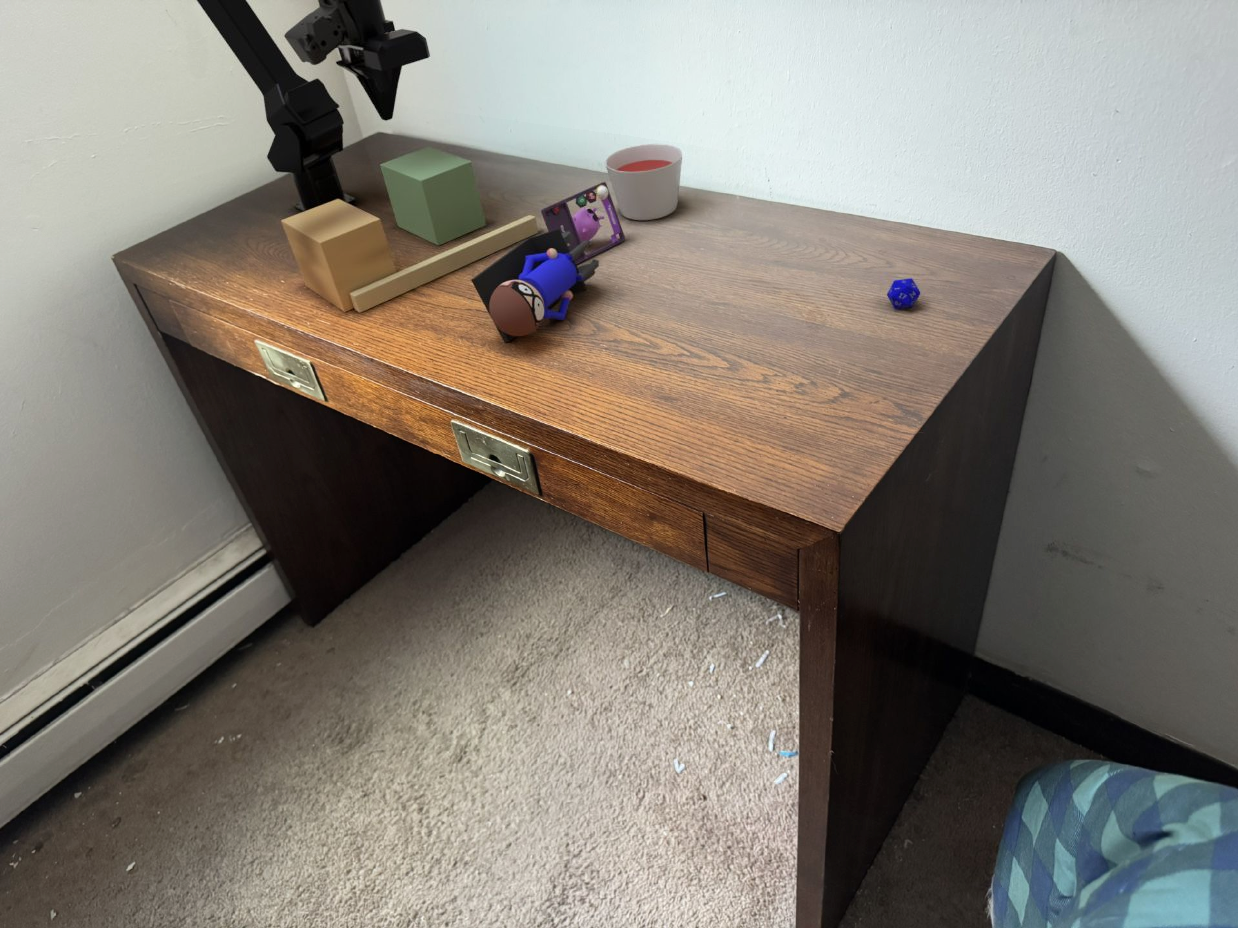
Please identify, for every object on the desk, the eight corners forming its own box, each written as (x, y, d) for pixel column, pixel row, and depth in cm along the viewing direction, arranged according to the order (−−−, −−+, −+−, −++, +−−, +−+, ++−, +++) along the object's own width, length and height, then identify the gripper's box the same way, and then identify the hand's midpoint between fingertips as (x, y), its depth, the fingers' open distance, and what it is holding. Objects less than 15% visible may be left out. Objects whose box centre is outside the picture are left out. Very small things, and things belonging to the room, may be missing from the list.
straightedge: (354, 309, 93) (348, 293, 92) (532, 230, 104) (529, 214, 103) (359, 313, 92) (354, 296, 91) (538, 232, 103) (535, 216, 102)
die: (920, 301, 80) (929, 287, 78) (900, 319, 80) (908, 306, 77) (898, 282, 81) (906, 267, 78) (878, 300, 81) (886, 285, 78)
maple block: (305, 286, 99) (280, 220, 94) (360, 263, 103) (338, 198, 98) (344, 312, 93) (319, 242, 88) (401, 287, 96) (380, 218, 91)
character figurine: (613, 290, 90) (528, 364, 81) (556, 275, 93) (468, 345, 84) (608, 220, 85) (517, 290, 76) (547, 206, 88) (452, 273, 79)
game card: (545, 208, 91) (609, 180, 95) (521, 214, 95) (583, 187, 100) (568, 269, 94) (629, 239, 98) (543, 272, 98) (603, 243, 102)
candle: (604, 226, 102) (597, 173, 98) (620, 196, 109) (614, 145, 105) (679, 224, 100) (675, 170, 96) (691, 194, 107) (687, 142, 103)
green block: (397, 226, 110) (379, 164, 105) (444, 207, 113) (428, 146, 108) (438, 246, 104) (420, 180, 99) (486, 225, 107) (471, 161, 102)
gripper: (246, -13, 98) (295, 127, 108) (316, -3, 86) (364, 154, 96) (335, -34, 103) (373, 101, 113) (412, -27, 91) (448, 124, 101)
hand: (387, 119), depth 106 cm, fingers closed
